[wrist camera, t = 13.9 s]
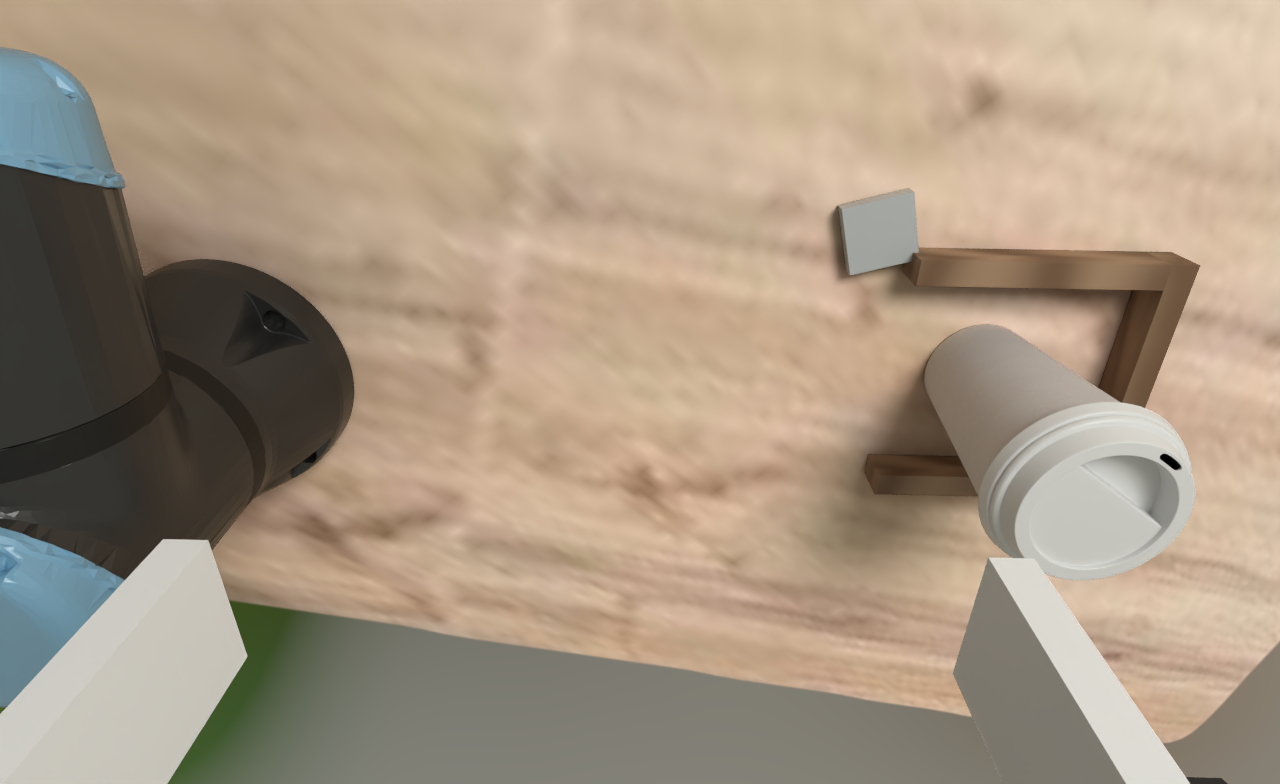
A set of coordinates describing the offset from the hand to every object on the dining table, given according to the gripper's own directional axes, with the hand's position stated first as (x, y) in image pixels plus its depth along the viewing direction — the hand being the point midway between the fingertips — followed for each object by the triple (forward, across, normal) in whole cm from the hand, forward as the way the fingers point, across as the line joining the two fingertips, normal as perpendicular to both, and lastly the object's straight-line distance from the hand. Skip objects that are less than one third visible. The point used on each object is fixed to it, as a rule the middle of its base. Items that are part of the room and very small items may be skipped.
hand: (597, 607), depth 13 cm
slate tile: (+33, +14, -2) cm, 36 cm away
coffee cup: (+33, +22, -11) cm, 41 cm away
